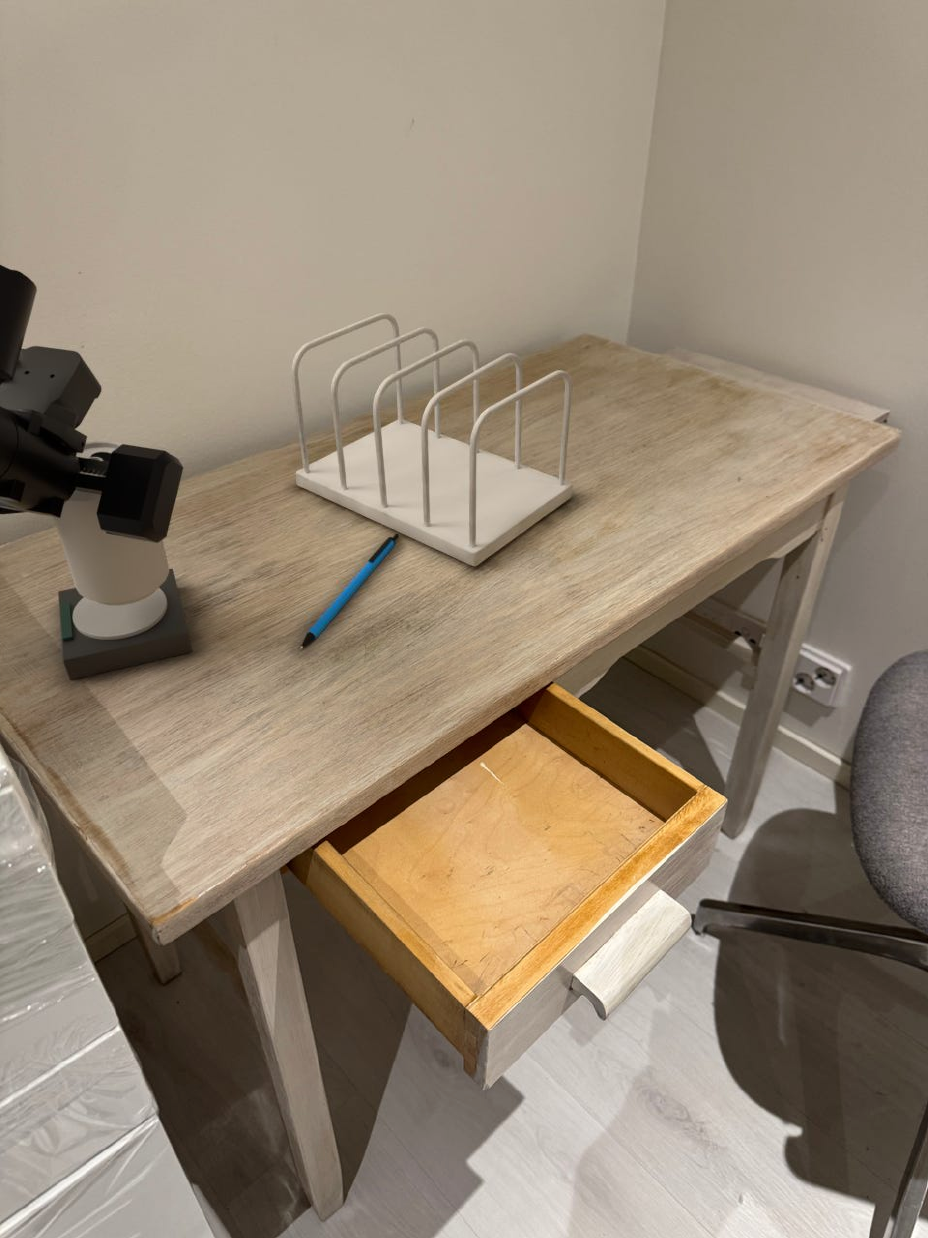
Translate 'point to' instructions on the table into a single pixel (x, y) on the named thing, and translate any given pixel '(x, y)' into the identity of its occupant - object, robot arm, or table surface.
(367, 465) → the file sorter
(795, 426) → the table surface
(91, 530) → the can
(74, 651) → the scale
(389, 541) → the pen
